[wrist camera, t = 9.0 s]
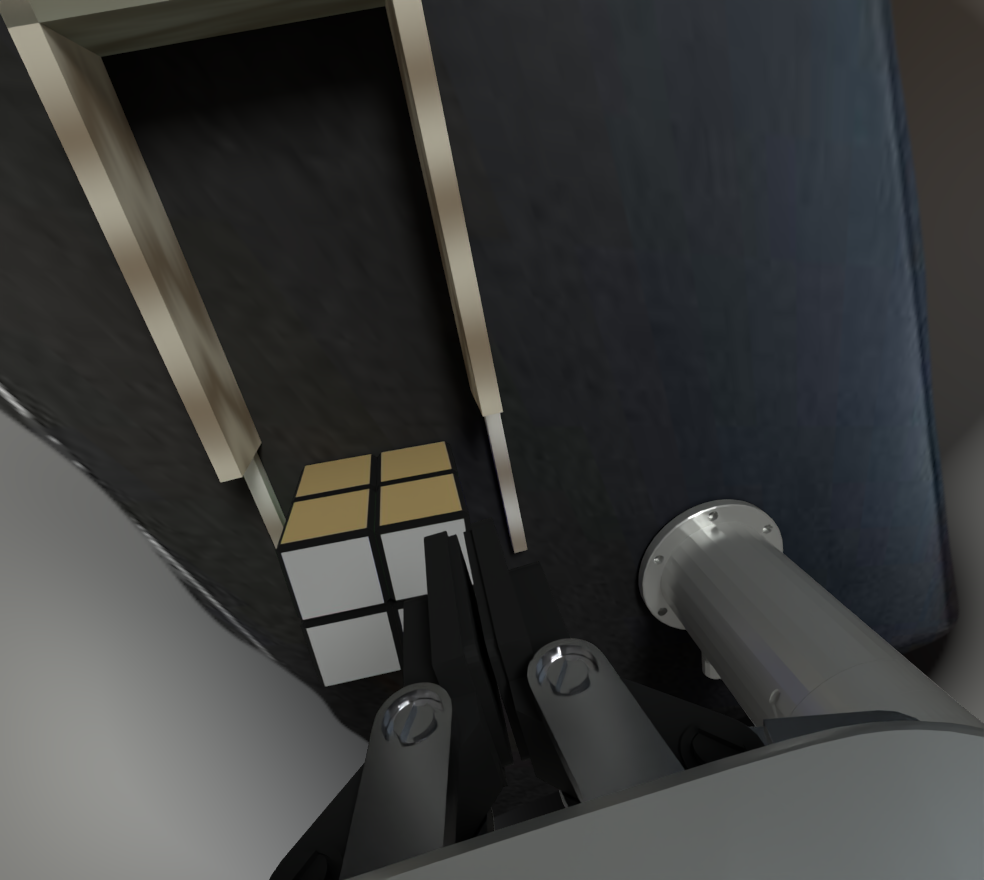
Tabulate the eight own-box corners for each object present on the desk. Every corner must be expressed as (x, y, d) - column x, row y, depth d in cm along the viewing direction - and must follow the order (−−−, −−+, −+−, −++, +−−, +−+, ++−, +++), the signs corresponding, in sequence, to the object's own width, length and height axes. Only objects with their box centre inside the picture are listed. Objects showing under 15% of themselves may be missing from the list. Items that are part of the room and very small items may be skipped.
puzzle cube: (467, 556, 41) (490, 654, 32) (335, 583, 40) (320, 692, 30) (448, 438, 37) (468, 511, 28) (301, 464, 35) (271, 549, 26)
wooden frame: (524, 542, 41) (541, 582, 36) (305, 601, 40) (295, 651, 35) (408, -29, 26) (412, -80, 22) (55, 32, 25) (-19, -9, 20)
